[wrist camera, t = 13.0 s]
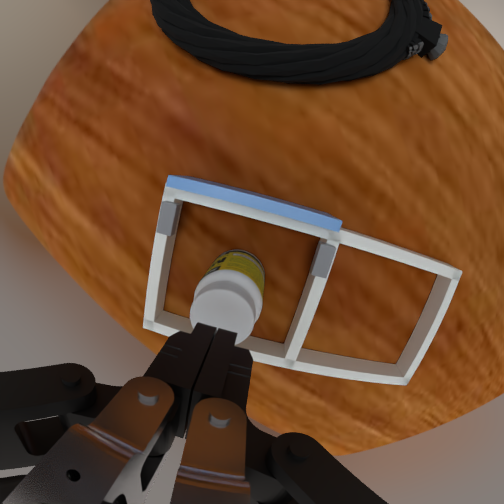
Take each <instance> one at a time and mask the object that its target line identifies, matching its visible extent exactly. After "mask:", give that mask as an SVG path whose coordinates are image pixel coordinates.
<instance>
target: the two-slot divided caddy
mask: <svg viewBox="0 0 504 504" xmlns="http://www.w3.org/2000/svg"><path fill="white" fill-rule="evenodd" d="M183 201H187V202H191V203H195V204H199V205H203V206H207V207H211V208H215V209H219V210H223V211H227V212H230V213H234V214H238V215H242V216H246V217H249V218H253V219H257V220H260V221H264V222H268V223H271V224H275V225H279V226H282V227H286V228H289V229H293V230H296V231H300V232H303V233H307V234H310V235H314V236H317V237H321V238H320V241H319V242H318V245H317V249H316V252H315V255H314V258H313V261H312V264H311V267H310V270H309V271H310V272H309V275H308V278H307V281H306V284H305V287H304V290H303V293H302V296H301V298H300V301H299V304H298V307H297V310H296V313H295V315H294V318H293V321H292V324H291V326H290V329H289V332H288V334H287V337H286V340H285V342H284V344H282V343H278V342H273V341H269V340H265V339H261V338H257V337H253V336H248V337H247V338H246V339H245V340H244V341H242V342H241V343H239V344H236V345H234V346H237V347H241V348H245V349H249V351H250V353H251V356H252V358H253V361H257V362H261V363H265V364H270V365H274V366H279V367H283V368H288V369H293V370H298V371H303V372H308V373H314V374H320V375H325V376H332V377H338V378H344V379H351V380H359V381H367V382H375V383H384V384H394V385H407V384H408V382H409V380H410V379H411V377H412V376H413V374H414V372H415V371H416V369H417V367H418V365H419V364H420V362H421V360H422V358H423V357H424V355H425V353H426V351H427V349H428V347H429V346H430V344H431V342H432V340H433V338H434V336H435V334H436V332H437V330H438V328H439V326H440V324H441V322H442V319H443V317H444V315H445V313H446V311H447V308H448V306H449V304H450V302H451V299H452V297H453V294H454V292H455V289H456V287H457V284H458V282H459V279H460V277H461V274H462V271H461V270H459V269H457V268H455V267H453V266H452V265H450V264H447V263H445V262H442V261H439V260H437V259H434V258H431V257H428V256H426V255H423V254H420V253H417V252H414V251H412V250H409V249H406V248H403V247H400V246H397V245H394V244H391V243H388V242H385V241H382V240H379V239H376V238H373V237H370V236H367V235H364V234H361V233H358V232H355V231H352V230H348V229H345V228H342V227H341V224H342V221H341V220H339V219H338V218H336V217H334V216H332V215H330V214H328V213H326V212H322V211H319V210H316V209H312V208H309V207H306V206H302V205H299V204H295V203H292V202H288V201H285V200H281V199H278V198H274V197H271V196H267V195H263V194H259V193H256V192H252V191H248V190H244V189H240V188H236V187H232V186H228V185H224V184H220V183H216V182H212V181H208V180H204V179H199V178H195V177H191V176H179V175H168V179H167V183H166V184H165V189H164V193H163V198H162V203H161V208H160V213H159V218H158V223H157V228H156V234H155V240H154V246H153V252H152V258H151V265H150V272H149V279H148V286H147V294H146V303H145V312H144V322H143V328H146V329H148V330H151V331H154V332H157V333H160V334H163V335H166V336H169V337H170V336H171V335H173V334H175V333H177V332H179V331H183V332H187V333H190V334H191V333H192V331H193V326H192V324H191V321H190V319H189V318H186V317H182V316H179V315H176V314H173V313H170V312H167V311H164V310H163V308H164V301H165V295H166V288H167V282H168V276H169V270H170V264H171V259H172V253H173V248H174V243H175V238H176V233H177V228H178V223H179V218H180V213H181V209H182V204H183ZM339 243H341V244H344V245H348V246H351V247H354V248H358V249H361V250H364V251H367V252H371V253H374V254H377V255H380V256H383V257H386V258H390V259H393V260H396V261H399V262H402V263H405V264H408V265H411V266H414V267H417V268H421V269H424V270H427V271H430V272H433V273H436V274H438V275H437V278H436V280H435V283H434V285H433V288H432V290H431V293H430V295H429V298H428V300H427V302H426V305H425V307H424V309H423V311H422V314H421V316H420V318H419V320H418V322H417V324H416V327H415V329H414V331H413V333H412V335H411V337H410V339H409V341H408V343H407V345H406V346H405V348H404V350H403V352H402V354H401V356H400V358H399V360H398V361H397V363H396V364H390V363H383V362H376V361H370V360H363V359H357V358H351V357H346V356H340V355H335V354H329V353H324V352H319V351H314V350H309V349H305V348H301V347H302V344H303V342H304V339H305V337H306V334H307V332H308V329H309V327H310V324H311V322H312V319H313V317H314V314H315V311H316V309H317V306H318V303H319V301H320V298H321V295H322V293H323V290H324V287H325V284H326V281H327V279H328V276H329V273H330V270H331V267H332V264H333V261H334V258H335V255H336V252H337V249H338V246H339Z"/></svg>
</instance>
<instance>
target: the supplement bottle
mask: <svg viewBox="0 0 504 504" xmlns="http://www.w3.org/2000/svg"><path fill="white" fill-rule="evenodd" d="M264 282H265V273H264V268H263V266H262V264H261V262H260V261H259V260H258V259H257V258H256V257H255V256H254V255H253V254H251V253H249V252H247V251H244V250H230V251H227V252H224V253H223V254H221V255H220V256H219V257H217V259H216V260H215V261H214V262H213V264H212V265H211V267H210V268H209V269H208V271H207V272H206V274H205V275H204V277H203V278H202V279H201V281H200V282H199V284H198V286H197V288H196V290H195V294H194V301H193V303H192V306H191V309H190V321H191V324H192V326H193V329H194V327H195V326H196V324H197V322H199V323H203V324H206V325H210V326H213V327H217V330H218V328H221V329H225V330H228V331H232V332H236V333H238V334H237V338H236V342H235V345H236V344H239V343H241V342H242V341H244V340H245V339H246V338H247V337H248V336H249V335H250V333H251V332H252V330H253V327H254V323H255V322H256V321H257V319H258V318H259V316H260V313H261V310H262V304H263V291H264Z"/></svg>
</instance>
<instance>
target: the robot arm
mask: <svg viewBox="0 0 504 504" xmlns="http://www.w3.org/2000/svg"><path fill="white" fill-rule="evenodd" d="M237 334H238V333H236V332H232V331H228V330H225V329H221V328H218V330H217V327H213V326H210V325H206V324H203V323H199V322H197V324H196V326H195V327H194V329H193V331H192V333H191V334H190V333H187V332H183V331H179V332H177V333H175V334H173V335H171V336H170V337H169V338H168V340H167V341H166V343H165V345H164V346H163V347H162V349H161V350H160V352H159V353H158V355H157V356H156V358H155V359H154V361H153V362H152V364H151V365H150V367H149V368H148V370H147V371H146V373H145V374H144V376H142V377H136V378H133V379H131V380H129V381H128V382H127V383H126V384H125V385H124V386H111V385H105V384H100V383H96V382H95V377H94V375H93V374H92V372H91V371H90V370H89V369H88V368H86V367H84V366H82V365H79V364H75V363H64V364H59V365H52V366H46V367H39V368H32V369H24V370H16V371H7V372H0V470H5V469H14V468H22V467H28V466H34V465H35V467H34V468H33V469H32V470H31V471H30V472H29V473H28V474H27V475H18V476H12V477H5V478H0V504H144V503H145V499H146V497H147V494H148V492H149V490H150V488H151V487H152V485H153V483H154V481H155V479H156V477H157V475H158V473H159V471H160V469H161V468H162V466H163V464H164V462H165V460H166V458H167V456H168V454H169V449H170V447H171V445H172V443H173V440H174V438H175V436H178V437H180V438H183V437H184V434H185V432H186V437H185V439H186V443H185V447H184V451H183V455H182V460H181V464H180V467H179V469H178V472H177V476H176V480H175V484H174V488H173V493H172V497H171V502H170V504H388V503H387V502H385V501H384V500H383V499H382V498H380V497H379V496H378V495H377V494H375V493H374V492H373V491H372V490H371V489H370V488H368V487H367V486H366V485H365V484H364V483H362V482H361V481H360V480H359V479H358V478H357V477H355V476H354V475H353V474H352V473H351V472H350V471H349V470H347V469H346V468H345V467H344V466H343V465H342V464H341V463H340V462H339V461H338V460H336V459H335V458H334V457H333V456H332V455H331V454H330V453H329V452H328V451H327V450H326V449H325V448H324V447H323V446H322V445H320V444H319V443H318V442H317V441H316V440H315V439H313V438H312V437H310V436H308V435H305V434H302V433H296V432H290V433H285V434H282V435H280V436H278V437H274V436H272V435H270V434H267V433H265V432H263V431H261V430H259V429H258V428H256V427H255V426H254V425H253V424H252V423H251V422H250V420H249V419H248V417H247V414H246V404H247V397H248V391H249V384H250V377H251V371H252V364H253V358H252V356H251V353H250V351H249V349H245V348H241V347H237V346H234V345H235V342H236V338H237ZM57 415H58V416H57ZM52 416H57V417H52ZM47 417H52V418H47ZM42 418H46V419H42ZM36 419H41V420H36ZM30 420H35V421H30ZM24 421H29V422H24ZM186 429H187V430H186Z"/></svg>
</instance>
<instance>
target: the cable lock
mask: <svg viewBox="0 0 504 504" xmlns="http://www.w3.org/2000/svg"><path fill="white" fill-rule="evenodd" d="M150 2H151V4H152V13H153V16H154V18H155V20H156V22H157V24H158V26H159V27H160V28H162V31H163V32H164V33H165V34H166V35H167V36H168V37H169V38H170V39H171V40H172V41H173V42H174V43H175V44H176V45H178V46H179V47H181V48H183V49H185V50H186V51H188V52H189V53H190V54H192V55H193V56H194V57H196V58H197V59H198V60H200V61H202V62H204V63H207V64H209V65H211V66H213V67H216V68H218V69H220V70H222V71H228V72H232V73H235V74H239V75H242V76H246V77H249V78H252V79H259V80H268V81H277V82H284V83H296V84H319V85H321V84H326V83H331V82H337V81H350V80H354V79H359V78H363V77H368V76H373V75H375V74H378V73H380V72H382V71H384V70H387V69H389V68H392V67H393V66H394V65H396V64H397V63H398V62H400V61H401V60H405V59H408V58H409V57H411V56H413V55H414V54H415V55H416V54H418V55H419V56H420V57H423V56H424V55H425V54H428V56H429V58H430V60H434V59H436V58H438V57H439V56H440V55H441V54H442V53H443V52H444V51H445V49H446V46H447V42H448V35H446V34H440V32H441V28H442V25H441V24H438V23H436V22H434V21H432V15H431V13H429V11H430V9H429V7H427V3H425V2H424V0H392V2H391V7H390V12H389V16H388V17H387V19H386V20H385V22H384V23H383V24H382V26H381V27H380V28H379V29H378V30H376V31H375V32H372V33H369V34H366V35H364V36H361V37H358V38H355V39H353V40H350V41H348V42H342V43H337V44H305V45H300V44H284V43H279V42H274V41H269V40H263V39H257V38H250V37H247V36H243V35H239V34H237V33H235V32H233V31H230V30H228V29H226V28H224V27H221V26H219V25H216V24H214V23H212V22H210V21H208V20H207V19H206V18H205V17H203V16H202V15H201V14H200V13H199V12H198V11H197V10H196V9H195V8H194V7H193V6H192V4H191V2H190V0H150Z"/></svg>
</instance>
